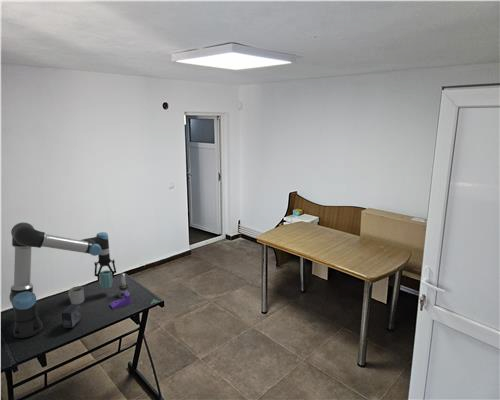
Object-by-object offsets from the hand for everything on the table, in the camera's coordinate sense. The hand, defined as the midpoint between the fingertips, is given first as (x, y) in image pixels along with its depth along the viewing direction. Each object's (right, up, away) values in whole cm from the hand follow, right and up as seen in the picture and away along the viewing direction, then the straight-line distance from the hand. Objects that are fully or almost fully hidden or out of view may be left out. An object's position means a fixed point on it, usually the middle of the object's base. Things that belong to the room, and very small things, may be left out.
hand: (106, 283), depth 249 cm
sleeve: (0, -3, +1) cm, 3 cm away
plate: (+12, -10, +2) cm, 16 cm away
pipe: (+12, -9, +2) cm, 15 cm away
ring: (+12, -4, +1) cm, 13 cm away
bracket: (+14, -13, -10) cm, 22 cm away
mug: (-18, -12, -6) cm, 23 cm away
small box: (-7, -17, -34) cm, 39 cm away
